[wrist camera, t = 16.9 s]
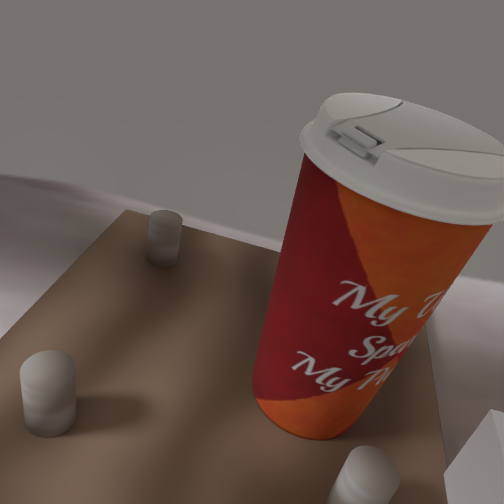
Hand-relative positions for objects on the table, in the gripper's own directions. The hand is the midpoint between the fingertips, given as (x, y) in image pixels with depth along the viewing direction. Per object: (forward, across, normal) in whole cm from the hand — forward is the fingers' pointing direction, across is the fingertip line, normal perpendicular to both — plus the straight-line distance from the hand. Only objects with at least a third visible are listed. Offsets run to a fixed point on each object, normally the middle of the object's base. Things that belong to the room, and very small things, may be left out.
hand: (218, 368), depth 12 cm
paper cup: (+8, +4, -9) cm, 13 cm away
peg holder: (+10, 0, -11) cm, 14 cm away
